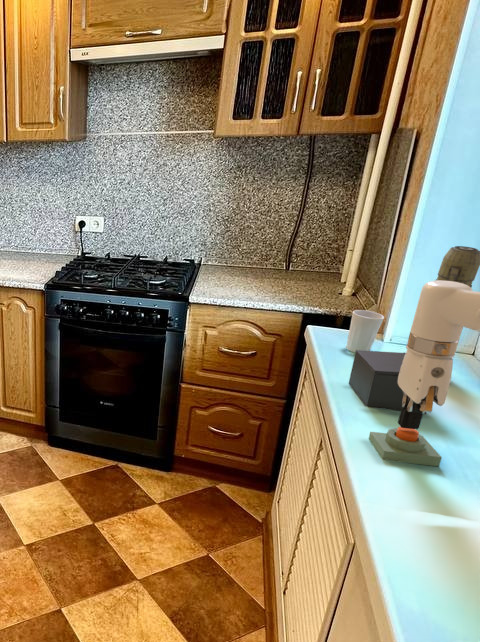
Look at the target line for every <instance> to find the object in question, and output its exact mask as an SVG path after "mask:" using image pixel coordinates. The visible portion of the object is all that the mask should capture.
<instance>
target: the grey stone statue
mask: <svg viewBox="0 0 480 642" xmlns="http://www.w3.org/2000/svg"><path fill="white" fill-rule="evenodd" d="M479 268H480V250H479V249H478V248H476V247H470V246H463V245H455V246H452V247H450V249H448V250H447V252H446V253H445V254H444V256H443V257H442V261H441V264H440V267H439V269H438V272H437V278H436V279H435V280H434V281H436V280H443V281H453V282H459V283H463V284H465V285H468V286H469V287H471V288H472V287H473V282H474V281H475V279H476V277H477V273H478V271H479Z"/></svg>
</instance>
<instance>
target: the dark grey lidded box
mask: <svg viewBox="0 0 480 642" xmlns="http://www.w3.org/2000/svg"><path fill="white" fill-rule="evenodd" d="M349 375H350V376H349V380H348V385H349V386H350V387H351V389H352V391H353V392H354V394H356V396H357V397H358V399H359V400H360V401H361V403H362V404H363V405H364V407H366V408H373V409H379V410H380V409H381V410H387V411H388V410H389V411H396V412H401V409H402V407H403V406H402V401H403V394H404V393H403V391H402V389H401V388H400V387H399V385H398V376H399V375H387V374H374V373H373V371H372V370H371V369H370V368H369V367H368V366H367V365H366V364H365V363H364V362H363V361H362V360H361V358H360V357H359V356H358V355H357V354H356V353H355V352H354V358H353V362H352V367H351V371H350V374H349ZM421 404H422V403H421ZM427 413H428V412H425V413H423V415H424V414H425V415H427Z"/></svg>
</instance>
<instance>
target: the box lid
mask: <svg viewBox="0 0 480 642" xmlns="http://www.w3.org/2000/svg"><path fill="white" fill-rule="evenodd" d="M355 353H356V354H357V355H358V356H359V357H360V358H361V360H362V361H363V362H364V363H365V364H366V365H367V366H368V367H369V368H370V369H371V370H372V371H373V373H374V374H387V375H399V372H400V368H401V365H402V362H403V359H404V356H405V354H406V352H396V351H377V350H370V351H361V350H356V352H354V354H355Z"/></svg>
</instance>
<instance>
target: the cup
mask: <svg viewBox="0 0 480 642" xmlns="http://www.w3.org/2000/svg"><path fill="white" fill-rule="evenodd" d="M384 319H385V316H384V315H383V314H381V313H379V312H375V311H372V310H367V309H355V310H353V311H352V314H351V319H350V325H349V331H348V335H347V340H346V345H345V348H346V350H348V351H350V352H353V353H355V352H356V350H361V351H372V350H371V349H372V347H373V344H374V342H375V340H376V338H377V335H378V333H379V330H380V327H381V326H382V323H383V321H384Z"/></svg>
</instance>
